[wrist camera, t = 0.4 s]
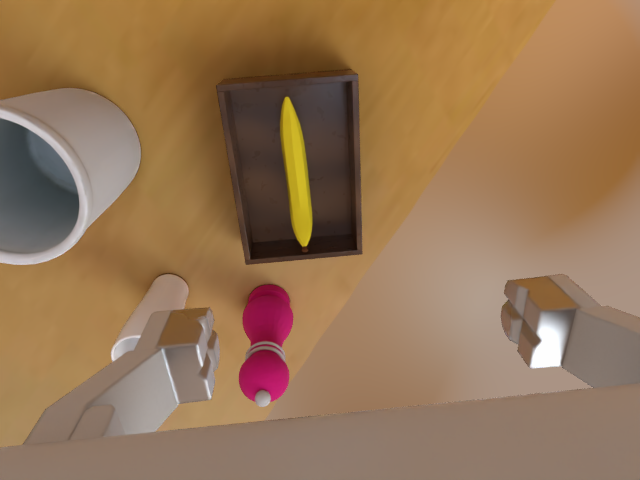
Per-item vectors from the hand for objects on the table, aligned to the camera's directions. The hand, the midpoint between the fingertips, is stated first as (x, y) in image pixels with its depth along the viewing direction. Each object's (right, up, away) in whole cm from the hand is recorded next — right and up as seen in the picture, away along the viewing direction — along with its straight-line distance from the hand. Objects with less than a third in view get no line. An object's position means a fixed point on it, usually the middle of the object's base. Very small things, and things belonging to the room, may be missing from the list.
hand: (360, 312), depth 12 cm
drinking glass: (-23, -5, +52) cm, 57 cm away
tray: (-4, +12, +45) cm, 46 cm away
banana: (-4, +12, +44) cm, 46 cm away
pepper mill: (-9, -7, +54) cm, 55 cm away
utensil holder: (-31, +14, +42) cm, 54 cm away
